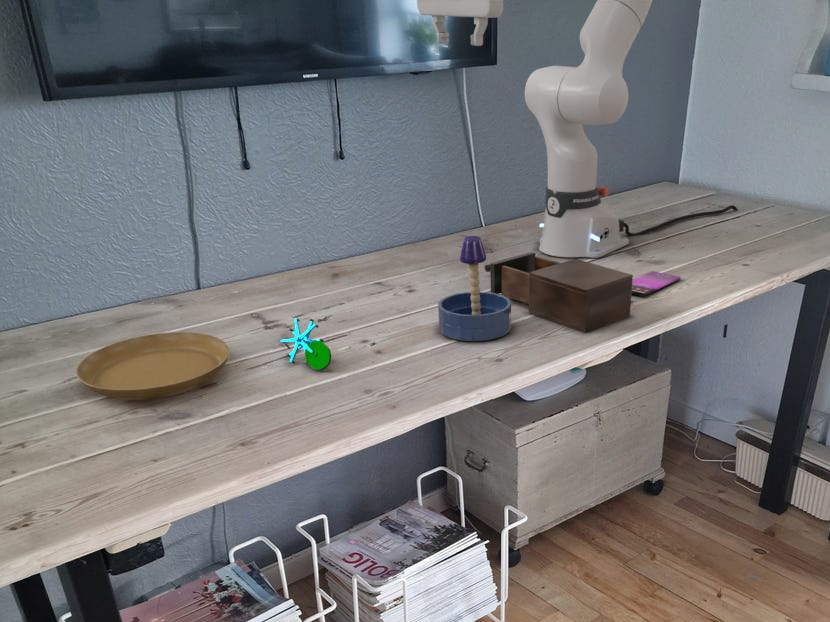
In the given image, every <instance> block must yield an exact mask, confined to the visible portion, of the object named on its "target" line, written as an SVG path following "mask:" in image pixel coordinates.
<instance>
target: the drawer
mask: <svg viewBox="0 0 830 622" xmlns="http://www.w3.org/2000/svg"><path fill="white" fill-rule="evenodd" d="M559 263H561V262H559V261H556V260H552V259H549V258H546V257H544V256H543V257H542V256H539V255H536V252H533V251H529V252H526V253H523V254H519V255H515V256H512V257H509V258H504V259H501V260H497V261H494V262H490V263H489V264H486V265H484V271H485V272H486V273H489V272H490V293H495V294H499V295H502V296H505V297H506V298H511V299H513V300H517V301H519V302H522V303H525V304H528V305H529V277H530V272H532V271H536V270H539V269H542V268H546V267H549V266H553V265H556V264H559Z"/></svg>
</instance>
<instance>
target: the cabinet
mask: <svg viewBox="0 0 830 622" xmlns="http://www.w3.org/2000/svg"><path fill="white" fill-rule="evenodd" d="M633 279H634V275H633V274H631V273H627V272H624V271H621V270H617V269H614V268H609V267H607V266H603V265H600V264H595V263H592V262H588V261H585V260H581V259H577V258H573V259H570V260H566V261H563V262H560V263H559V264H556V265H553V266H549V267H546V268H542V269H539V270H536V271H532V272H530V277H529V304H528V314H529V315H533V316H536V317H537V318H538V317H539V318H541V319H544V320H547V321H550V322H553V323H556V324H558V325H561V326H564V327H567V328H570V329H572V330H575V331H578V332H581V333H584V334H586V333H588V332H592V331H594V330H597V329H601V328H602V327H605V326H608V325H611V324H614V323H616V322H619V321H621V320H624V319H626V318H629V317H631V304H632V294H633V293H632V280H633Z"/></svg>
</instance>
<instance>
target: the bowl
mask: <svg viewBox="0 0 830 622" xmlns="http://www.w3.org/2000/svg"><path fill="white" fill-rule="evenodd" d="M479 295H480V305H481V309H480V311H481V315H472V308H471V303H472V302H471V293H470V291H465V292H458V293H454V294H450V295H447V296H445V297H443V298H441V299H440V300H439V301H438V303H437V311H438V329H439V333H441V334H442V335H443V336H445V337H447V338H450V339H452V340H453V339H454V340H457V341H465V342H482V341H490V340H494V339H497V338H501V337H504V336H505V335H507V334H508V333H510V331H511V329H512V302H511V300H510V299H509V297H507V296H504V295H502V294H495V293H491V292H487V291H480V293H479Z"/></svg>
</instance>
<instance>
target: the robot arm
mask: <svg viewBox="0 0 830 622" xmlns="http://www.w3.org/2000/svg"><path fill="white" fill-rule="evenodd" d="M652 3H653V0H596V2H595V4H594V5H593V7H592V10H591V11H590V13H589V15H588V17H587V19H586V20H585V22H584V23H583V26H582V28H581V30H580V32H579V45H580V47H581V50H582V52H583V54H584V58H583V61H582V62H581V64H580V65H578V66H564V65H551V66H550V65H549V66H545V67H541V68H537V69H535V70H534V71H532V72H531V74H530V75H529V77H528V78H527V80H526V83H525V87H524V100H525V101H524V102H525V104H526V106H527V108H528V110H529V111H530V112H531V113H532V114H533V116H534V117H535V120H537V122H538V125H539V127H540V130H541V132H542V135H543V139H544V143H545V147H546V155H547V156H546V157H547V158H546V159H547V186H546V187H545V192H544V203H545V210H544V215H543V223H540V224H539V228H542V232H541V237H540V238H539V247H538V250H539V251H540V252H541V253H543V254H546V255H549V256H552V257H553V256H554V257H560V258H593V259H594V258H601V257H603V256H605V255H607V254H611V253H612V252H614V251H616V250H619V249H621V248H623V247H625V246H628V245H629V244H630V240H629V238H627V237H626V236H628V237H634V236H641V235H645V234H648V233H650V232H654V231H657V230H659V229H661V228H664V227H667V226H668V225H671V224H674V223H678V222H681V221H684V220H688V219H692V218H699V217H703V216H711V215H720V214H723V213H726V212H728V211H729V210H733V211H734V212H737V211H739V209H738V208H737V206H736V205H733V204H732V205H728V206H726V207H724V208H722V209H718V210H711V211H702V212H697V213H692V214H691V213H690V214H687V215H682V216H679V217H676V218H672V219H670V220H667V221H664V222H662V223H660V224H658V225H655V226H652V227H649V228H646V229H643V230H641V231H638V232H635V233H633V232H630V226H629V224H628V223H627V222H625V220H623V219H619V218H618V217H617V216H616V214H614V213H613V212H612V211H611V210H610V209H608V208H607V207H606V206H605V205H604V204H603V203H602V200H601V197H605V198H607V197H608V196H609V194H610V189H609V187H603V186H600V187H599V188H598V187H597V178H598V177H597V176H598V160H599V159H598V156H599V155H598V152H597V149H596V147H595V146H594V144H592V143H593V142H591V141H590V140H589V139H588V137H587V135H586V133H585V130H584V127H583V125H587V126H595V127H596V126H603V125H610V124H614V123H616V122H618V121H619V120H620V119H621V117H622V116H623V115H624V114H625V112H626V109H627V108H628V103H629V89H628V85H627V83H626V80H625V79H624V76H623V69H624V63H625V60H626V59H627V55H628V54H629V52H630V50H631V47H632V45H633V44H634V42H635V39H636V37H638V34H639V32H640V30H641V28H642V26H643V24H644V22H645V20H646V18H647V16H648V13H649V11H650V8H651V6H652ZM416 7H417V10H418V13H419V14H420V15H421V16H430V17H431V23H432V26H433V28H434V30H435V32H436V42H437V43H438V44H449V43H450V32H447V30H446V27H445V24H444V23H446V17H457V18H458V17H459V18H473V24H474V25H475V28H474V30H473V34H470V45H471V46H473V47H474V46H475V47H481V46H483V45H484V34H485V32H486V29H487V27H488V25H489V19H491V18H493V19H497V18H500V17H501V16H502V15H503V13H504V0H416ZM624 229H625V230H624ZM622 232H624V233H625V235H626V236H623V235H621V234H620V233H622ZM727 333H728V323H727V324H724V326H723V334H722V338H724V339H725V338H727Z"/></svg>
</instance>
